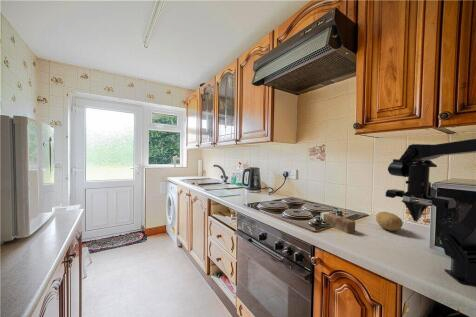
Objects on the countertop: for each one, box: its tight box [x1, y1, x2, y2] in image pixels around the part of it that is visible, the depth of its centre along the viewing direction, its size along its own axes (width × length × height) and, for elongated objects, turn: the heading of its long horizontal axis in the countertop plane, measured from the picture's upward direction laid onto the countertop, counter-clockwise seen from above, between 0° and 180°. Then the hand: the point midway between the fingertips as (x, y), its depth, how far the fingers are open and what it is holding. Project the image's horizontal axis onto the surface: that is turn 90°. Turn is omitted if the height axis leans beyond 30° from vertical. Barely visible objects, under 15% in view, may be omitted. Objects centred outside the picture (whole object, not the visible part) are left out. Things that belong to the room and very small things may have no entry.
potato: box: [375, 211, 404, 232], centre depth 98 cm, size 10×14×8 cm
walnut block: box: [320, 211, 356, 234], centre depth 100 cm, size 5×5×16 cm
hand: (415, 221), depth 74 cm, fingers closed
